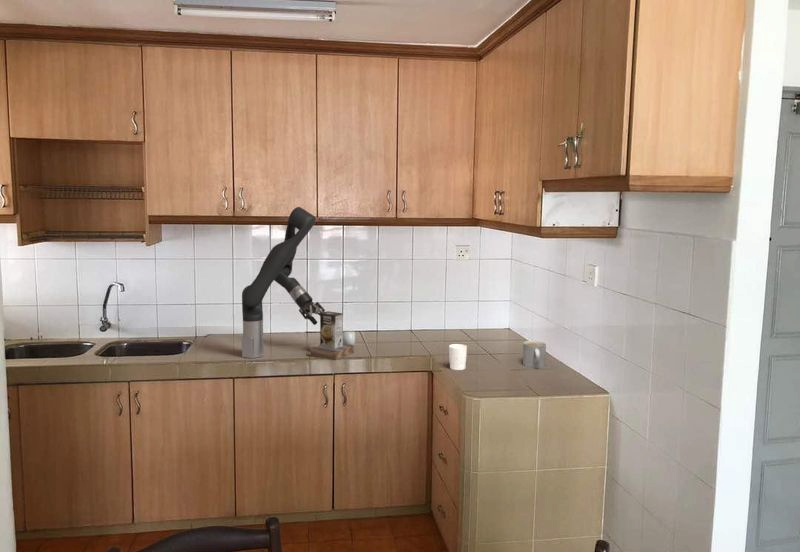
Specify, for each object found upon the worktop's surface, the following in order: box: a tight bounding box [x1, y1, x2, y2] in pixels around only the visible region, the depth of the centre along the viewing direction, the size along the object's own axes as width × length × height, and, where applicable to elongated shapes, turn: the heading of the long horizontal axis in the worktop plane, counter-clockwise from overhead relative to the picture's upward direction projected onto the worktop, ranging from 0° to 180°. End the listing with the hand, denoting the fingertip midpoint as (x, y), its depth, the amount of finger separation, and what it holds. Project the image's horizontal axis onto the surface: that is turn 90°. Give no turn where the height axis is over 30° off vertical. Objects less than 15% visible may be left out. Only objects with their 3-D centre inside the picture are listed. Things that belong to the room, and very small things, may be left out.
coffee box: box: [319, 310, 344, 348], centre depth 306 cm, size 9×6×16 cm
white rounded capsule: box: [342, 330, 356, 350], centre depth 320 cm, size 6×6×8 cm
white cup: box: [448, 343, 468, 371], centre depth 285 cm, size 8×8×10 cm
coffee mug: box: [522, 340, 547, 369], centre depth 290 cm, size 13×10×10 cm
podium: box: [310, 342, 355, 361], centre depth 307 cm, size 16×14×4 cm
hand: (321, 322), depth 310 cm, fingers open, 8 cm apart
